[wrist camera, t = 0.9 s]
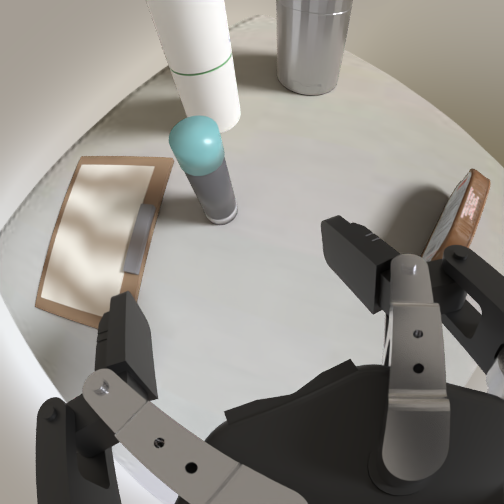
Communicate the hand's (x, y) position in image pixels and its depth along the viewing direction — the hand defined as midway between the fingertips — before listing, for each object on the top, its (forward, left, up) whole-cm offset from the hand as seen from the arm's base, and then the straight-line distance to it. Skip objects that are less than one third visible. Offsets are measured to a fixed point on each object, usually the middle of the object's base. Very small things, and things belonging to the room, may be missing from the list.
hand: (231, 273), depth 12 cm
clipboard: (-6, -21, -20) cm, 29 cm away
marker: (-11, -6, -20) cm, 23 cm away
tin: (-12, +21, -20) cm, 31 cm away
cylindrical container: (-25, -10, -20) cm, 33 cm away
